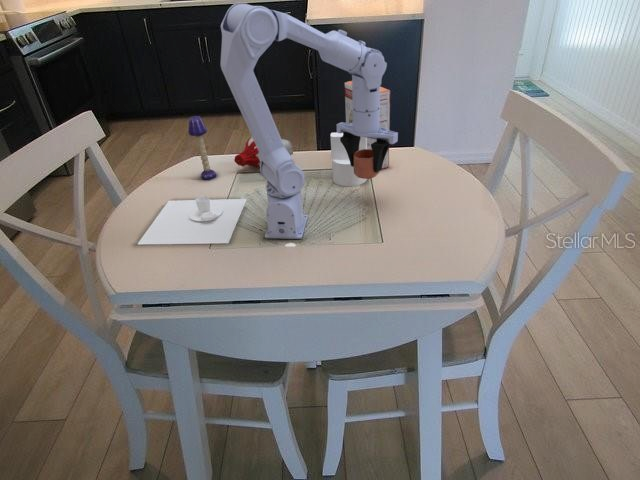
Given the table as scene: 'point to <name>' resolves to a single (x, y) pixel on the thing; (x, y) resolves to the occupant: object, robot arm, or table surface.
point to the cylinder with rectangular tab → (344, 162)
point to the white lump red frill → (255, 153)
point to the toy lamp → (201, 145)
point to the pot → (364, 164)
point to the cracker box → (383, 113)
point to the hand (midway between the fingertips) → (366, 167)
